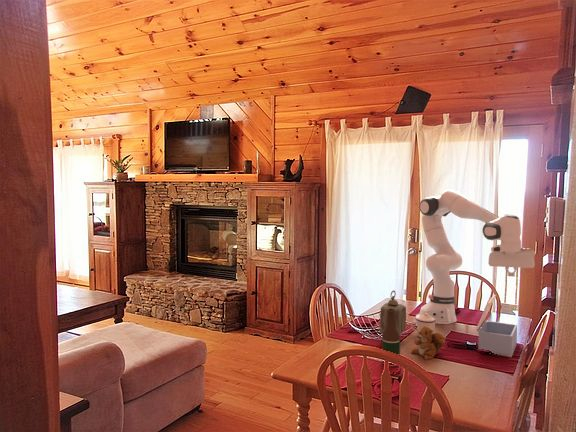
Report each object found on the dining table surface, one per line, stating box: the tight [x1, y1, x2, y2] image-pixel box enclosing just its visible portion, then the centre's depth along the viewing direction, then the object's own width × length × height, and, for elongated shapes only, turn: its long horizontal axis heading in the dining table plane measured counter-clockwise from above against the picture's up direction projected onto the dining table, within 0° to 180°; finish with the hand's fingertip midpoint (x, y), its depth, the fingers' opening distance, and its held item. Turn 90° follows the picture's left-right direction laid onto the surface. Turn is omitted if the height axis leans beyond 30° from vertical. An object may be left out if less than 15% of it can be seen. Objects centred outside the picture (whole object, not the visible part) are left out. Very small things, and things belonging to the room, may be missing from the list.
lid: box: [475, 294, 497, 332], centre depth 219 cm, size 20×15×1 cm
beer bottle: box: [381, 309, 401, 365], centre depth 197 cm, size 8×8×24 cm
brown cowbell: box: [379, 289, 407, 336], centre depth 229 cm, size 14×9×25 cm, turn 149°
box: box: [477, 320, 518, 358], centre depth 217 cm, size 20×14×10 cm
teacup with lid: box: [410, 313, 436, 338], centre depth 235 cm, size 12×9×12 cm
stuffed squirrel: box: [411, 326, 447, 360], centre depth 209 cm, size 10×14×13 cm
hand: (511, 276), depth 223 cm, fingers closed
